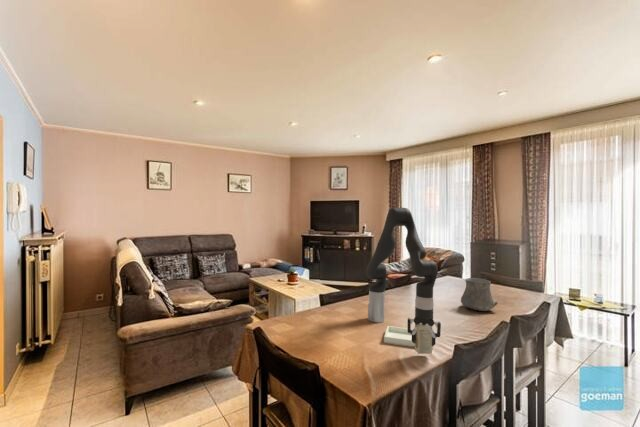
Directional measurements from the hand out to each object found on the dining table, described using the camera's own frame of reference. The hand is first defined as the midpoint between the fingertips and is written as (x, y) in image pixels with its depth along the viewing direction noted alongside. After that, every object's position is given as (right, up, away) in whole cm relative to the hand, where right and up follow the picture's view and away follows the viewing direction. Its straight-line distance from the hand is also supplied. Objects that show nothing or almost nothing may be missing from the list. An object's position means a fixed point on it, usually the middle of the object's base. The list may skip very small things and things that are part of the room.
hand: (423, 344), depth 133 cm
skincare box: (0, -4, 0) cm, 4 cm away
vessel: (+62, -8, +73) cm, 96 cm away
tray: (-1, -6, +18) cm, 19 cm away
